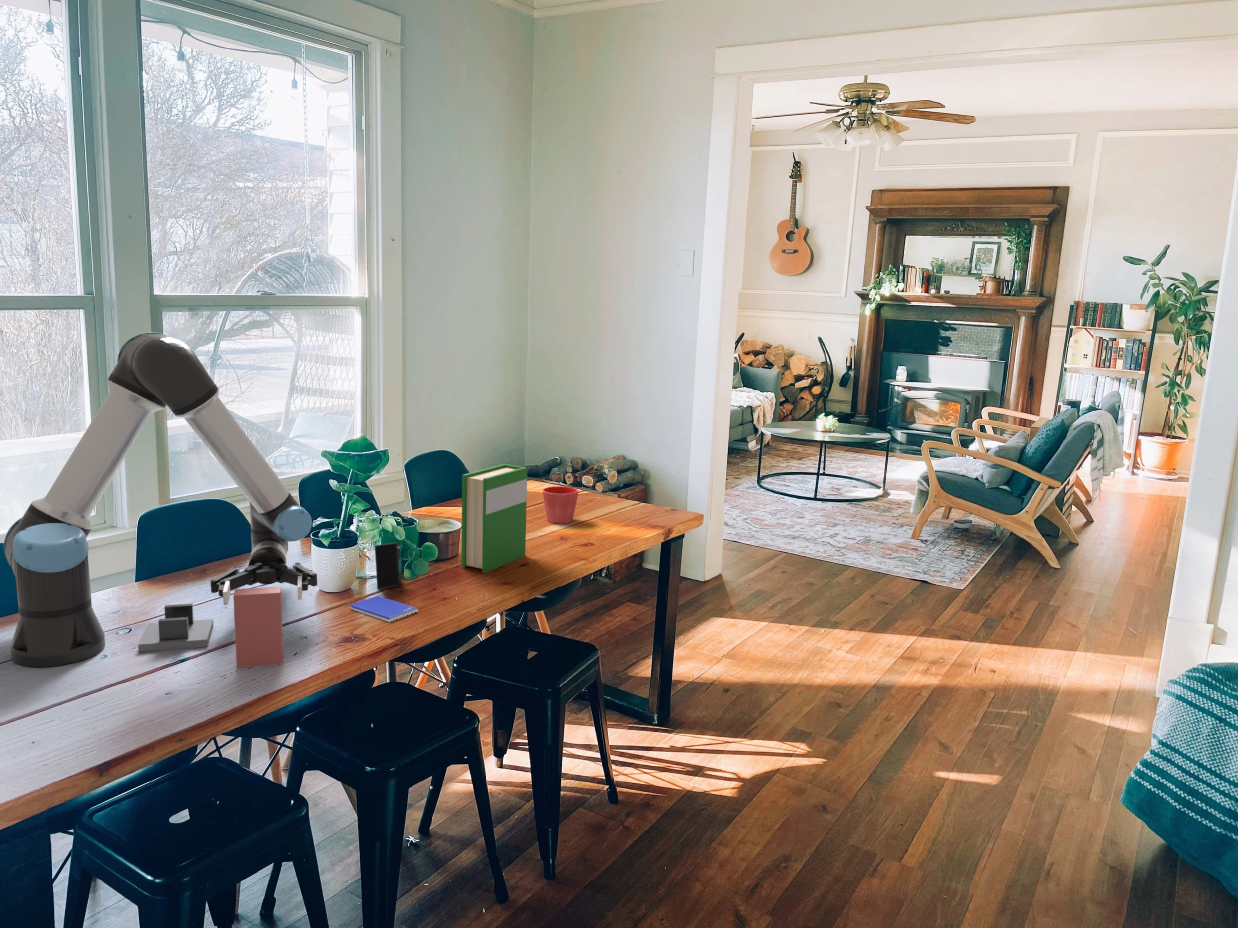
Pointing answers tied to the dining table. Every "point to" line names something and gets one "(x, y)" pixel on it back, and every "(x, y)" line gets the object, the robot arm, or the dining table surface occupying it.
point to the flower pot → (560, 503)
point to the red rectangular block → (258, 626)
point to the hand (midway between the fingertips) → (262, 595)
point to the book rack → (176, 630)
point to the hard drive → (383, 608)
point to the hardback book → (493, 516)
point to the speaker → (388, 565)
